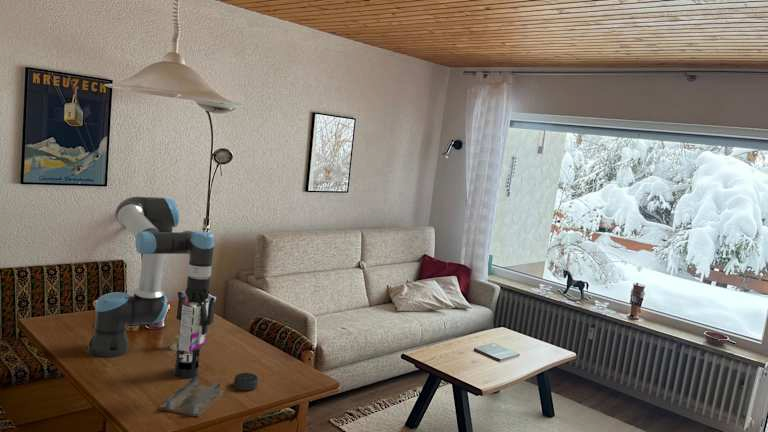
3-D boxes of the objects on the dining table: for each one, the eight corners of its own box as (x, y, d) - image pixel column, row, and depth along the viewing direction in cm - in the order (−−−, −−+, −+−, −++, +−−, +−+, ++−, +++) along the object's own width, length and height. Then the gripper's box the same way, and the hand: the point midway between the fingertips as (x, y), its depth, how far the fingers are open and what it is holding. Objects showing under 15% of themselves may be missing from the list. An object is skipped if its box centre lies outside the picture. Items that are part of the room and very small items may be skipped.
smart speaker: (230, 389, 219) (232, 379, 218) (236, 380, 228) (238, 370, 227) (254, 393, 219) (255, 383, 218) (259, 383, 228) (260, 373, 227)
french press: (204, 376, 227) (210, 319, 224) (182, 381, 220) (188, 322, 217) (188, 365, 234) (193, 310, 232) (166, 370, 227) (172, 313, 225)
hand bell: (165, 348, 249) (169, 312, 247) (179, 343, 257) (182, 308, 255) (181, 353, 246) (184, 316, 244) (194, 347, 254) (198, 312, 252)
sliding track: (159, 409, 196) (160, 399, 196) (188, 385, 217) (189, 376, 217) (198, 417, 195) (199, 407, 194) (224, 392, 215) (225, 383, 215)
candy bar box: (193, 340, 209) (198, 296, 208) (206, 343, 208) (211, 299, 207) (176, 350, 198) (181, 303, 197) (189, 353, 198) (194, 306, 196)
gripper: (169, 274, 198) (163, 340, 201) (219, 282, 196) (212, 349, 198) (180, 270, 206) (174, 333, 208) (228, 278, 203) (221, 342, 206)
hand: (192, 341), depth 203 cm, fingers closed on candy bar box, 5 cm apart
